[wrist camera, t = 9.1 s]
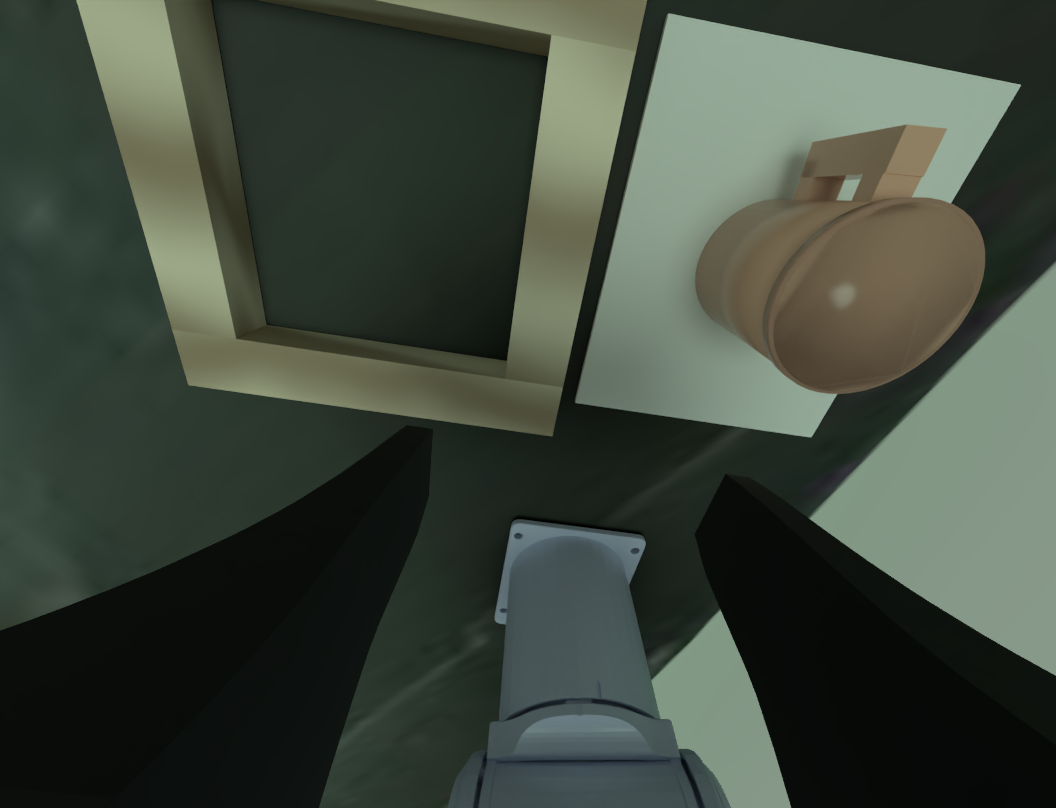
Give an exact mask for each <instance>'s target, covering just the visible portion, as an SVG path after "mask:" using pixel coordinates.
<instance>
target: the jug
mask: <svg viewBox="0 0 1056 808" xmlns="http://www.w3.org/2000/svg"><path fill="white" fill-rule="evenodd" d="M946 130H947V129H946V128H937V127H927V126H917V125H901V126H896V127H890V128H885V129H880V130H874V131H869V132H864V133H858V134H853V135H848V136H842V137H837V138H831V139H826V140H821V141H815V142H812V145H811V148H810V151H809V153H808V156H807V159H806V162H805V164H804V167H803V170H802V173H801V175H800V181H799V183H798V186H797V189H796V192H795V194H794V197H793V199H770V200H764V201H760V202H756V203H754V204H751V205H749V206H746V207H745V208H743V209H741V210H739V211H737V212H736V213H735V214H733V215H732V216H730V217H729V218H728V219H727V220H726V221H724V222H723V223H722V224H721V225H720V226H719V227H718V228H717V229H716V231H715V232H714V233H713V234H712V236H711V237H710V238H709V240H708V242H707V243H706V245H705V247H704V249H703V251H702V253H701V255H700V258H699V261H698V264H697V269H696V276H695V288H696V293H697V297H698V300H699V303H700V305H701V307H702V308H703V310H704V311H705V312H706V314H707V315H708V316H709V317H710V318H711V319H713V320H714V321H715V322H717V323H718V324H720V325H721V326H722V327H724V328H725V329H727V330H728V331H729V332H731V333H732V334H734V335H735V336H736V337H738V338H739V339H741V340H742V341H743V342H745V343H746V344H748V345H749V346H750V347H752V348H753V349H755V350H756V351H757V352H759V353H760V354H762V355H763V356H764V357H766V358H767V359H769V360H770V361H771V362H772V363H773V364H774V366H775V367H776V368H777V369H778V370H779V371H780V372H781V373H782V374H783V375H785V376H786V377H787V378H789V379H790V380H792V381H793V382H794V383H796V384H797V385H799V386H801V387H804V388H806V389H808V390H812V391H815V392H820V393H827V394H845V393H853V392H859V391H864V390H867V389H871V388H874V387H877V386H880V385H882V384H885V383H887V382H890V381H892V380H894V379H896V378H898V377H900V376H902V375H904V374H905V373H907V372H909V371H910V370H912V369H914V368H915V367H916V366H918V365H919V364H921V363H922V362H923V361H925V360H926V359H927V358H929V357H930V356H931V355H932V354H933V353H935V352H936V351H937V350H938V349H939V348H940V347H941V346H942V345H943V344H944V343H945V342H946V341H947V340H948V339H949V338H950V337H951V335H952V334H953V333H954V332H955V331H956V330H957V328H958V327H959V326H960V324H961V323H962V321H963V320H964V319H965V317H966V316H967V314H968V312H969V310H970V309H971V307H972V305H973V303H974V301H975V299H976V296H977V294H978V292H979V289H980V286H981V282H982V279H983V274H984V268H985V249H984V243H983V239H982V236H981V234H980V231H979V229H978V227H977V226H976V224H975V222H974V221H973V219H972V218H971V217H970V216H969V215H968V214H966V213H965V212H964V211H963V210H961V209H960V208H958V207H957V206H955V205H953V204H951V203H948V202H945V201H943V200H938V199H933V198H922V197H912V196H913V194H914V192H915V190H916V188H917V186H918V184H919V182H920V180H921V178H922V177H924V175H925V173H926V171H927V169H928V167H929V165H930V163H931V161H932V159H933V157H934V155H935V153H936V151H937V149H938V147H939V145H940V143H941V141H942V139H943V136H944V134H945V132H946ZM860 179H861V180H860ZM844 180H860V182H859V184H858V187H857V189H856V191H855V194H854V196H853V198H852V201H843V200H837V197H838V195H839V193H840V190H841V188H842V185H843V183H844Z"/></svg>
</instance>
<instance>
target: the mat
mask: <svg viewBox="0 0 1056 808" xmlns="http://www.w3.org/2000/svg"><path fill="white" fill-rule="evenodd" d="M1020 86H1021V85H1019V84H1014V83H1009V82H1004V81H999V80H994V79H989V78H984V77H979V76H974V75H969V74H964V73H960V72H955V71H950V70H945V69H940V68H935V67H930V66H925V65H920V64H915V63H910V62H905V61H900V60H895V59H890V58H886V57H881V56H876V55H871V54H866V53H861V52H856V51H851V50H846V49H841V48H836V47H831V46H826V45H821V44H817V43H812V42H807V41H802V40H797V39H792V38H787V37H782V36H777V35H772V34H767V33H762V32H757V31H752V30H747V29H743V28H738V27H733V26H728V25H723V24H718V23H713V22H708V21H703V20H698V19H693V18H688V17H683V16H678V15H673V14H669V13H668V15H667V16H666V18H665V22H664V26H663V30H662V35H661V39H660V43H659V47H658V51H657V56H656V60H655V64H654V68H653V72H652V77H651V81H650V85H649V89H648V94H647V98H646V102H645V106H644V110H643V115H642V119H641V123H640V127H639V131H638V136H637V140H636V144H635V148H634V153H633V157H632V161H631V165H630V169H629V174H628V178H627V182H626V186H625V190H624V195H623V199H622V203H621V207H620V211H619V216H618V220H617V224H616V228H615V233H614V237H613V241H612V245H611V249H610V254H609V258H608V262H607V266H606V270H605V275H604V279H603V283H602V287H601V291H600V296H599V300H598V304H597V308H596V313H595V317H594V321H593V325H592V329H591V334H590V338H589V342H588V346H587V350H586V355H585V359H584V363H583V367H582V371H581V376H580V380H579V384H578V388H577V393H576V397H575V403H579V404H586V405H593V406H600V407H607V408H614V409H620V410H627V411H634V412H641V413H648V414H655V415H661V416H668V417H675V418H682V419H689V420H696V421H702V422H709V423H716V424H723V425H730V426H737V427H743V428H750V429H757V430H764V431H771V432H778V433H784V434H791V435H798V436H805V437H812V435H813V434H814V432H815V430H816V429H817V427H818V425H819V424H820V422H821V420H822V419H823V417H824V415H825V414H826V412H827V410H828V409H829V407H830V405H831V404H832V402H833V400H834V398H835V397H836V395H837V394H827V393H820V392H815V391H812V390H808V389H806V388H804V387H801V386H799V385H797V384H796V383H794V382H793V381H792V380H790V379H789V378H787V377H786V376H785V375H783V374H782V373H781V372H780V371H779V370H778V369H777V368H776V367H775V366H774V364H773V363H772V362H771V361H770V360H769V359H767V358H766V357H764V356H763V355H762V354H760V353H759V352H757V351H756V350H755V349H753V348H752V347H750V346H749V345H748V344H746V343H745V342H743V341H742V340H741V339H739V338H738V337H736V336H735V335H734V334H732V333H731V332H729V331H728V330H727V329H725V328H724V327H722V326H721V325H720V324H718V323H717V322H715V321H714V320H713V319H711V318H710V317H709V316H708V315H707V314H706V312H705V311H704V310H703V308H702V307H701V305H700V303H699V300H698V297H697V293H696V288H695V276H696V269H697V264H698V261H699V258H700V255H701V253H702V251H703V249H704V247H705V245H706V243H707V242H708V240H709V238H710V237H711V236H712V234H713V233H714V232H715V231H716V229H717V228H718V227H719V226H720V225H721V224H722V223H723V222H724V221H726V220H727V219H728V218H729V217H730V216H732V215H733V214H735V213H736V212H737V211H739V210H741V209H743V208H745V207H746V206H749V205H751V204H754V203H756V202H760V201H764V200H770V199H793V197H794V194H795V192H796V189H797V186H798V183H799V181H800V175H801V173H802V170H803V167H804V164H805V162H806V159H807V156H808V153H809V151H810V148H811V145H812V142H815V141H821V140H826V139H831V138H837V137H842V136H848V135H853V134H858V133H864V132H869V131H874V130H880V129H885V128H890V127H896V126H901V125H917V126H927V127H937V128H946V129H947V130H946V132H945V134H944V136H943V139H942V141H941V143H940V145H939V147H938V149H937V151H936V153H935V155H934V157H933V159H932V161H931V163H930V165H929V167H928V169H927V171H926V173H925V175H924V177H922V178H921V180H920V182H919V184H918V186H917V188H916V190H915V192H914V194H913V196H912V197H922V198H933V199H938V200H943V201H945V202H948V203H951V202H952V200H953V199H954V197H955V195H956V194H957V192H958V190H959V189H960V187H961V185H962V184H963V182H964V180H965V178H966V177H967V175H968V173H969V172H970V170H971V168H972V167H973V165H974V163H975V162H976V160H977V158H978V157H979V155H980V153H981V152H982V150H983V148H984V147H985V145H986V143H987V142H988V140H989V138H990V136H991V135H992V133H993V131H994V130H995V128H996V126H997V125H998V123H999V121H1000V120H1001V118H1002V116H1003V115H1004V113H1005V111H1006V110H1007V108H1008V106H1009V105H1010V103H1011V101H1012V100H1013V98H1014V96H1015V94H1016V93H1017V91H1018V89H1019V88H1020ZM860 180H861V179H860ZM860 180H844V183H843V185H842V188H841V190H840V193H839V195H838V197H837V200H843V201H852V198H853V196H854V194H855V191H856V189H857V187H858V184H859V182H860Z"/></svg>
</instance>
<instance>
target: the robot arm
mask: <svg viewBox="0 0 1056 808" xmlns="http://www.w3.org/2000/svg"><path fill="white" fill-rule="evenodd" d="M432 434H433V429H428V428H421V427H415V426H408V425H407V426H405V427H404V428H402V429H401V430H400V431H398V432H397V433H395V434H394V435H393V436H391V437H390V438H389V439H387V440H386V441H385V442H383V443H382V444H381V445H379V446H378V447H377V448H375V449H374V450H373V451H371V452H370V453H368V454H367V455H366V456H364V457H363V458H361V459H360V460H359V461H357V462H356V463H354V464H353V465H352V466H350V467H349V468H347V469H346V470H344V471H343V472H342V473H340V474H339V475H337V476H336V477H334V478H333V479H331V480H329V481H328V482H326V483H325V484H323V485H322V486H320V487H318V488H317V489H315V490H314V491H312V492H311V493H309V494H307V495H306V496H304V497H303V498H301V499H299V500H298V501H296V502H294V503H293V504H291V505H289V506H287V507H285V508H284V509H282V510H280V511H278V512H277V513H275V514H273V515H271V516H269V517H267V518H265V519H263V520H261V521H260V522H258V523H256V524H254V525H252V526H250V527H248V528H246V529H244V530H242V531H240V532H238V533H236V534H234V535H232V536H230V537H228V538H226V539H224V540H222V541H219V542H217V543H215V544H213V545H211V546H209V547H206V548H204V549H202V550H200V551H198V552H196V553H193V554H191V555H189V556H187V557H185V558H183V559H180V560H178V561H176V562H174V563H172V564H170V565H167V566H165V567H163V568H161V569H158V570H156V571H154V572H151V573H149V574H146V575H144V576H141V577H139V578H137V579H134V580H132V581H129V582H127V583H125V584H122V585H120V586H117V587H115V588H112V589H110V590H107V591H105V592H102V593H100V594H97V595H95V596H92V597H89V598H87V599H84V600H82V601H79V602H77V603H74V604H71V605H69V606H66V607H64V608H61V609H59V610H56V611H53V612H51V613H48V614H45V615H42V616H40V617H37V618H34V619H32V620H29V621H26V622H24V623H21V624H18V625H15V626H12V627H9V628H6V629H4V630H1V631H0V808H319V805H320V802H321V798H322V795H323V792H324V789H325V785H326V782H327V779H328V776H329V772H330V769H331V766H332V763H333V759H334V756H335V753H336V750H337V747H338V744H339V740H340V737H341V734H342V731H343V728H344V725H345V722H346V718H347V715H348V712H349V709H350V706H351V703H352V700H353V697H354V694H355V691H356V688H357V685H358V681H359V678H360V675H361V672H362V669H363V666H364V663H365V660H366V657H367V654H368V651H369V648H370V646H371V643H372V640H373V638H374V635H375V633H376V630H377V627H378V625H379V623H380V620H381V618H382V616H383V613H384V611H385V609H386V606H387V604H388V602H389V599H390V597H391V595H392V592H393V590H394V588H395V585H396V583H397V581H398V578H399V576H400V574H401V571H402V569H403V567H404V565H405V562H406V560H407V557H408V555H409V553H410V550H411V548H412V546H413V543H414V541H415V538H416V536H417V534H418V530H419V527H420V524H421V520H422V517H423V514H424V510H425V507H426V503H427V500H428V496H429V483H430V467H431V451H432ZM516 533H521V534H516ZM695 536H696V540H697V544H698V548H699V552H700V556H701V559H702V563H703V566H704V570H705V573H706V576H707V578H708V581H709V583H710V585H711V588H712V590H713V593H714V595H715V597H716V600H717V602H718V605H719V607H720V609H721V612H722V614H723V616H724V619H725V621H726V623H727V625H728V628H729V630H730V632H731V635H732V637H733V639H734V641H735V644H736V646H737V648H738V651H739V653H740V656H741V658H742V660H743V663H744V665H745V667H746V670H747V672H748V675H749V677H750V680H751V682H752V685H753V688H754V690H755V693H756V695H757V698H758V701H759V705H760V708H761V710H762V714H763V717H764V720H765V723H766V726H767V729H768V732H769V735H770V738H771V741H772V744H773V747H774V751H775V754H776V757H777V761H778V764H779V767H780V771H781V774H782V778H783V781H784V785H785V788H786V791H787V794H788V798H789V801H790V805H791V808H1056V676H1055V675H1053V674H1051V673H1050V672H1048V671H1046V670H1044V669H1042V668H1040V667H1039V666H1037V665H1035V664H1033V663H1032V662H1030V661H1028V660H1026V659H1024V658H1022V657H1021V656H1019V655H1017V654H1015V653H1013V652H1012V651H1010V650H1008V649H1007V648H1005V647H1003V646H1001V645H1000V644H998V643H996V642H995V641H993V640H991V639H989V638H987V637H986V636H984V635H982V634H981V633H979V632H978V631H976V630H974V629H973V628H971V627H969V626H968V625H966V624H964V623H963V622H961V621H960V620H958V619H956V618H955V617H953V616H951V615H950V614H948V613H947V612H945V611H943V610H942V609H940V608H938V607H937V606H935V605H934V604H932V603H930V602H929V601H927V600H925V599H924V598H922V597H921V596H919V595H917V594H916V593H915V592H913V591H911V590H910V589H909V588H907V587H905V586H904V585H903V584H901V583H900V582H898V581H897V580H895V579H894V578H892V577H891V576H889V575H888V574H886V573H885V572H883V571H882V570H880V569H879V568H877V567H876V566H874V565H873V564H871V563H870V562H868V561H867V560H866V559H864V558H863V557H861V556H860V555H859V554H857V553H856V552H854V551H853V550H852V549H850V548H849V547H847V546H846V545H844V544H843V543H842V542H840V541H839V540H838V539H836V538H835V537H833V536H832V535H831V534H829V533H828V532H827V531H825V530H824V529H822V528H821V527H820V526H818V525H817V524H816V523H814V522H813V521H811V520H810V519H809V518H807V517H806V516H805V515H803V514H802V513H801V512H799V511H798V510H796V509H795V508H794V507H792V506H791V505H790V504H788V503H787V502H785V501H784V500H783V499H781V498H780V497H778V496H777V495H775V494H774V493H773V492H771V491H770V490H768V489H767V488H765V487H764V486H762V485H761V484H759V483H757V482H756V481H754V480H752V479H751V478H748V477H741V476H735V475H728V474H725V476H724V478H723V480H722V482H721V484H720V486H719V488H718V490H717V492H716V494H715V496H714V498H713V499H712V501H711V503H710V505H709V507H708V509H707V511H706V513H705V515H704V517H703V519H702V521H701V523H700V525H699V527H698V529H697V531H696V533H695ZM645 546H646V542H645V539H644V537H643V536H642V535H639V534H631V533H623V532H615V531H608V530H600V529H592V528H585V527H577V526H569V525H561V524H554V523H546V522H538V521H530V520H523V519H517V520H514V521H513V522H512V524H511V528H510V534H509V539H508V545H507V551H506V556H505V562H504V567H503V573H502V578H501V584H500V589H499V595H498V600H497V606H496V611H495V621H496V622H497V623H500V624H506V630H505V644H504V658H503V671H502V685H501V698H500V712H499V721H496V722H491V723H490V729H489V740H488V751H476V752H474V753H473V754H472V755H471V756H470V758H469V760H468V762H467V764H466V765H465V766H464V767H463V769H462V770H461V771H460V773H459V774H458V776H457V778H456V781H455V783H454V786H453V789H452V793H451V797H450V801H449V805H448V808H731V807H730V804H729V802H728V800H727V798H726V796H725V793H724V791H723V789H722V787H721V785H720V783H719V782H718V780H717V778H716V777H715V775H714V774H713V773H712V772H711V771H710V770H709V769H708V768H707V766H706V765H705V764H704V763H703V762H702V760H701V759H700V757H698V755H697V754H696V753H695V752H694V751H692V750H689V749H678V745H677V742H676V738H675V734H674V730H673V726H672V722H671V721H670V720H668V719H660V716H659V711H658V707H657V703H656V699H655V694H654V691H653V686H652V682H651V677H650V673H649V669H648V665H647V660H646V656H645V652H644V648H643V643H642V639H641V635H640V631H639V626H638V622H637V618H636V614H635V610H634V605H633V601H632V597H631V593H630V588H629V584H630V582H631V579H632V577H633V574H634V572H635V570H636V567H637V565H638V563H639V560H640V558H641V555H642V553H643V551H644V548H645ZM633 548H635V549H633Z"/></svg>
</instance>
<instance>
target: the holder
mask: <svg viewBox="0 0 1056 808" xmlns="http://www.w3.org/2000/svg"><path fill="white" fill-rule="evenodd" d="M258 1H263V2H268V3H273V4H278V5H283V6H289V7H294V8H299V9H304V10H309V11H314V12H320V13H325V14H330V15H335V16H340V17H345V18H351V19H356V20H361V21H366V22H371V23H376V24H382V25H387V26H392V27H397V28H402V29H407V30H413V31H418V32H423V33H428V34H433V35H438V36H444V37H449V38H454V39H459V40H464V41H469V42H475V43H480V44H485V45H490V46H495V47H501V48H506V49H511V50H516V51H521V52H526V53H532V54H537V55H542V56H547V57H548V64H547V71H546V79H545V86H544V93H543V101H542V108H541V115H540V123H539V130H538V137H537V145H536V152H535V159H534V167H533V174H532V181H531V189H530V196H529V203H528V211H527V218H526V225H525V233H524V240H523V247H522V255H521V262H520V269H519V277H518V284H517V291H516V299H515V306H514V313H513V321H512V328H511V335H510V343H509V350H508V357H507V361H504V360H497V359H491V358H484V357H477V356H471V355H464V354H457V353H451V352H444V351H437V350H431V349H424V348H417V347H411V346H404V345H398V344H391V343H384V342H378V341H371V340H364V339H358V338H351V337H344V336H338V335H331V334H325V333H318V332H311V331H305V330H298V329H291V328H285V327H278V326H271V325H266V319H265V313H264V307H263V302H262V296H261V290H260V284H259V278H258V272H257V266H256V261H255V255H254V249H253V243H252V237H251V231H250V225H249V220H248V214H247V208H246V202H245V196H244V190H243V185H242V179H241V173H240V167H239V161H238V155H237V149H236V144H235V138H234V132H233V126H232V120H231V114H230V108H229V103H228V97H227V91H226V85H225V79H224V73H223V68H222V62H221V56H220V50H219V44H218V38H217V32H216V27H215V21H214V15H213V9H212V3H211V0H77V3H78V7H79V10H80V14H81V17H82V21H83V24H84V28H85V31H86V34H87V38H88V41H89V45H90V48H91V52H92V55H93V58H94V62H95V65H96V69H97V72H98V76H99V79H100V83H101V86H102V89H103V93H104V96H105V100H106V103H107V107H108V110H109V114H110V117H111V120H112V124H113V127H114V131H115V134H116V138H117V141H118V145H119V148H120V151H121V155H122V158H123V162H124V165H125V169H126V172H127V175H128V179H129V182H130V186H131V189H132V193H133V196H134V200H135V203H136V206H137V210H138V213H139V217H140V220H141V224H142V227H143V231H144V234H145V237H146V241H147V244H148V248H149V251H150V255H151V258H152V262H153V265H154V268H155V272H156V275H157V279H158V282H159V286H160V289H161V292H162V296H163V299H164V303H165V306H166V310H167V313H168V317H169V320H170V323H171V327H172V330H173V334H174V337H175V341H176V344H177V348H178V351H179V354H180V358H181V361H182V365H183V368H184V372H185V375H186V378H187V382H188V385H192V386H199V387H206V388H213V389H220V390H227V391H234V392H241V393H248V394H255V395H262V396H270V397H277V398H284V399H291V400H298V401H305V402H312V403H319V404H326V405H333V406H340V407H347V408H355V409H362V410H369V411H376V412H383V413H390V414H397V415H404V416H411V417H418V418H425V419H432V420H440V421H447V422H454V423H461V424H468V425H475V426H482V427H489V428H496V429H503V430H510V431H517V432H525V433H532V434H539V435H546V436H552V435H553V431H554V426H555V422H556V417H557V412H558V408H559V403H560V399H561V394H562V389H563V385H564V380H565V376H566V371H567V366H568V362H569V357H570V353H571V348H572V343H573V339H574V334H575V330H576V325H577V320H578V316H579V311H580V307H581V302H582V297H583V293H584V288H585V284H586V279H587V275H588V270H589V265H590V261H591V256H592V252H593V247H594V242H595V238H596V233H597V229H598V224H599V219H600V215H601V210H602V206H603V201H604V196H605V192H606V187H607V183H608V178H609V173H610V169H611V164H612V160H613V155H614V150H615V146H616V141H617V137H618V132H619V127H620V123H621V118H622V114H623V109H624V104H625V100H626V95H627V91H628V86H629V81H630V77H631V72H632V68H633V63H634V58H635V54H636V49H637V45H638V40H639V35H640V31H641V26H642V22H643V17H644V12H645V8H646V3H647V0H258Z"/></svg>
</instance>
